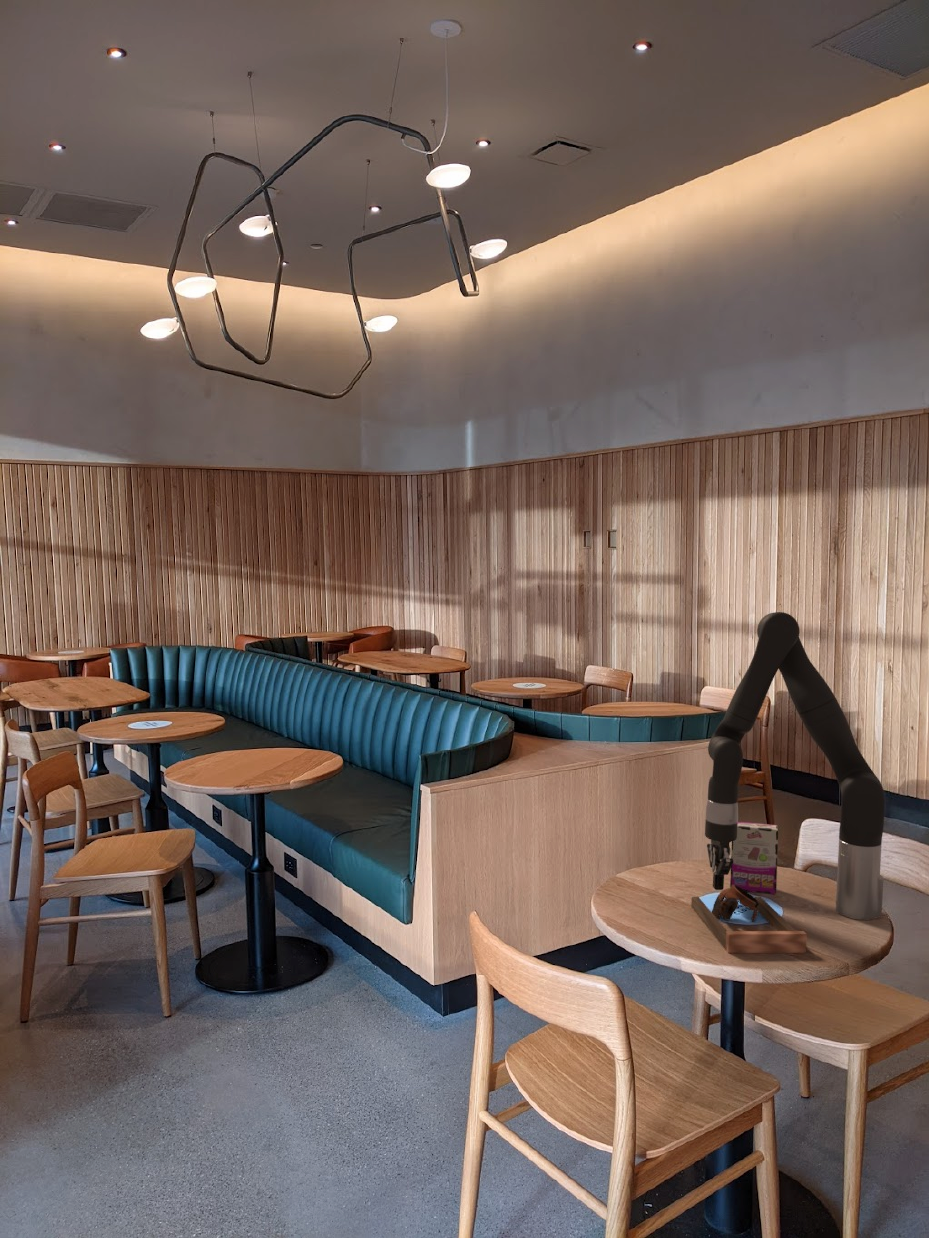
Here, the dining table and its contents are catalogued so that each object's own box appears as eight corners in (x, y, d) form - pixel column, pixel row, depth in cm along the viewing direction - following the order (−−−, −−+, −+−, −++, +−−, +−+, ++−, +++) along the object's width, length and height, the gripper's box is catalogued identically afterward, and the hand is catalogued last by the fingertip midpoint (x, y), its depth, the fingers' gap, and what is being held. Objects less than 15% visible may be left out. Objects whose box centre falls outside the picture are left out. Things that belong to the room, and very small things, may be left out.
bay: (760, 906, 225) (760, 890, 224) (805, 952, 199) (806, 933, 199) (691, 906, 224) (691, 890, 223) (728, 952, 198) (728, 934, 198)
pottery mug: (714, 908, 225) (733, 879, 224) (748, 934, 220) (767, 905, 219) (700, 911, 214) (720, 881, 214) (735, 938, 209) (755, 908, 209)
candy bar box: (775, 888, 237) (778, 824, 236) (776, 895, 233) (779, 829, 232) (729, 883, 241) (732, 820, 240) (729, 889, 236) (731, 825, 235)
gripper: (746, 827, 221) (742, 898, 223) (727, 811, 235) (724, 879, 236) (715, 826, 221) (711, 898, 222) (698, 810, 234) (694, 879, 235)
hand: (717, 888), depth 229 cm, fingers closed
